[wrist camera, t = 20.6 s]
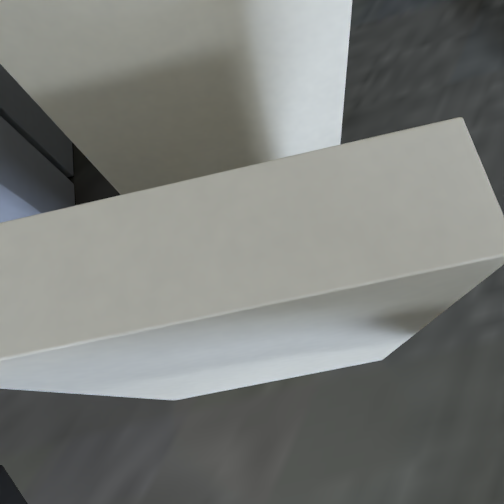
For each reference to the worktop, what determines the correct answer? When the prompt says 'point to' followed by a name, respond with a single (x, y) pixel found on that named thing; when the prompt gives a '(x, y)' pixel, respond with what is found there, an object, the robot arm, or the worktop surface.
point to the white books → (182, 80)
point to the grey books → (31, 156)
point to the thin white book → (248, 269)
